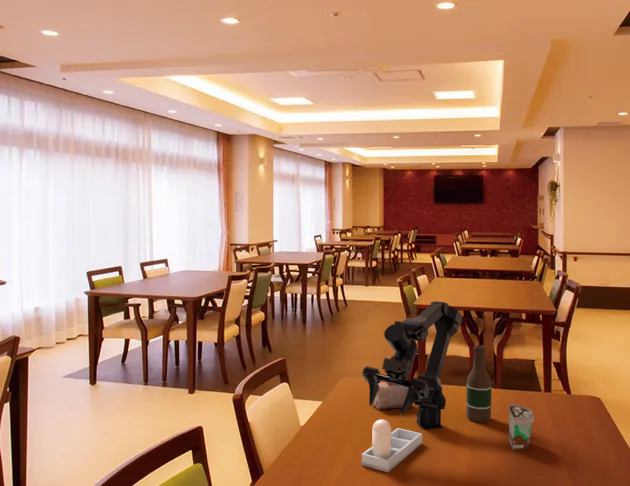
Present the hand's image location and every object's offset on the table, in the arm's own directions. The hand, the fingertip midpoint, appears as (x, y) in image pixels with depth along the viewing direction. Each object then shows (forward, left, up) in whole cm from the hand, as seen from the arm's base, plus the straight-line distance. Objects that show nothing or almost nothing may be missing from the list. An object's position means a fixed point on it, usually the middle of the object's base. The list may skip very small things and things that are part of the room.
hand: (385, 409), depth 160 cm
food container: (-41, +1, -13) cm, 44 cm away
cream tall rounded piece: (+3, +4, -12) cm, 13 cm away
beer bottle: (-39, -21, -13) cm, 47 cm away
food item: (-16, -38, -13) cm, 44 cm away
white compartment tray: (-3, -1, -13) cm, 13 cm away
